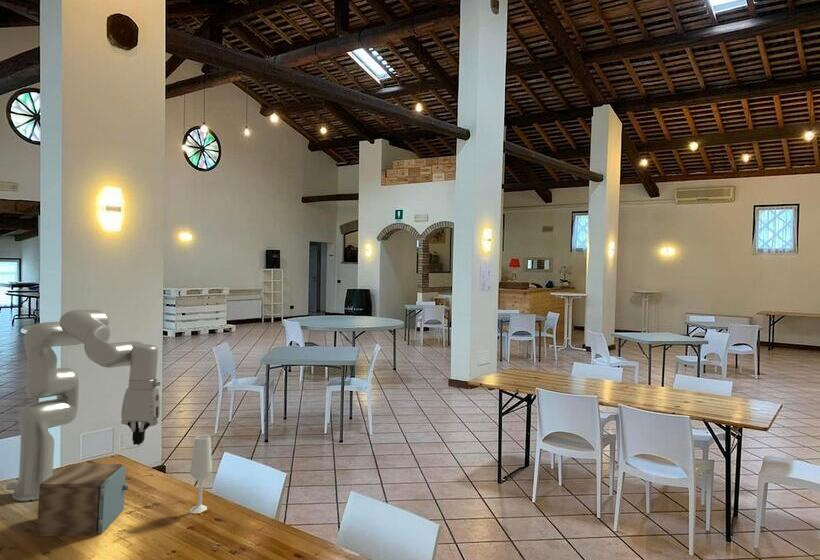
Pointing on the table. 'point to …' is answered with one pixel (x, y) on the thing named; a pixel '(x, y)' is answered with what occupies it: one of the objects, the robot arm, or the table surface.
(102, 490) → the cabinet door
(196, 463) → the champagne flute
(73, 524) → the walnut cabinet
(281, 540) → the table surface
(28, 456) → the robot arm
